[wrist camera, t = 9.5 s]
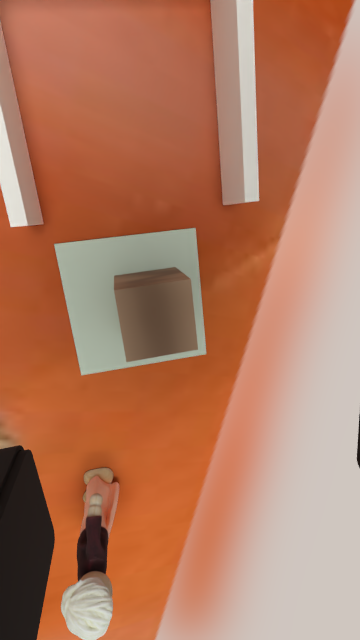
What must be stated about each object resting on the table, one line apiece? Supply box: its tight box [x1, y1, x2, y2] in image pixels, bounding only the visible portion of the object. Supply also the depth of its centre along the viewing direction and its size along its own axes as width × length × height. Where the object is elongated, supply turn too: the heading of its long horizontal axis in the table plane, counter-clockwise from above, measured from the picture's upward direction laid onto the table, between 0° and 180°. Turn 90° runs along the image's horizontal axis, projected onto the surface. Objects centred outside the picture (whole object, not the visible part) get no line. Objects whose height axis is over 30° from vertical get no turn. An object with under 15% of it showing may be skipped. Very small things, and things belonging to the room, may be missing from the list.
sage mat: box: [54, 228, 206, 375], centre depth 28 cm, size 11×11×1 cm
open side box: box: [0, 0, 259, 227], centre depth 22 cm, size 16×15×5 cm
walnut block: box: [114, 267, 198, 362], centre depth 26 cm, size 5×5×6 cm
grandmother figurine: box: [61, 468, 119, 640], centre depth 27 cm, size 8×4×13 cm, turn 2°
